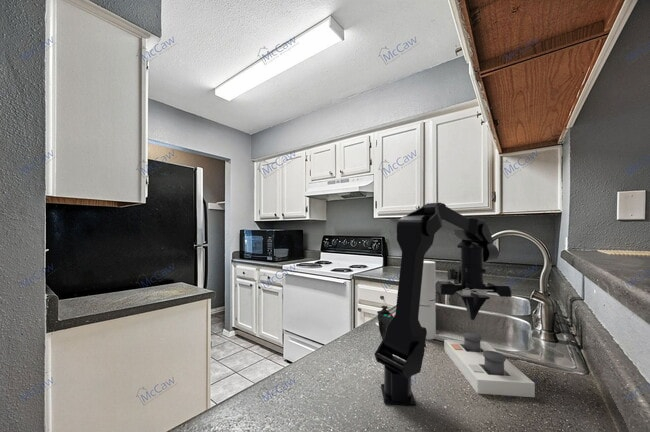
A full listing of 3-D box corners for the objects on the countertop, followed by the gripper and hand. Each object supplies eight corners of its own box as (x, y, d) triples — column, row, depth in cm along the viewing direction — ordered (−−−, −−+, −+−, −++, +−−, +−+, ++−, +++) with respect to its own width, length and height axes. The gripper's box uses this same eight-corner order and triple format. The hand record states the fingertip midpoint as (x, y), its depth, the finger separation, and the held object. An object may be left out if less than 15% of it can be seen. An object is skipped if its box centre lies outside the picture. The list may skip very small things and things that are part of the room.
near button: (509, 380, 64) (509, 360, 64) (488, 378, 64) (488, 358, 65) (499, 369, 69) (499, 351, 69) (479, 368, 69) (479, 350, 69)
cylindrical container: (440, 337, 93) (440, 262, 94) (423, 340, 91) (423, 263, 91) (425, 330, 100) (425, 260, 101) (408, 332, 97) (409, 260, 98)
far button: (484, 355, 76) (484, 339, 76) (467, 354, 76) (467, 338, 77) (477, 348, 81) (476, 332, 81) (460, 347, 81) (460, 332, 81)
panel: (534, 397, 61) (534, 382, 61) (477, 393, 62) (477, 378, 62) (485, 352, 83) (485, 341, 83) (444, 349, 84) (444, 339, 84)
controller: (387, 333, 97) (387, 303, 97) (402, 348, 85) (402, 315, 85) (375, 333, 96) (375, 304, 97) (388, 349, 84) (388, 315, 84)
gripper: (491, 261, 87) (492, 312, 86) (430, 259, 88) (429, 309, 88) (512, 266, 76) (513, 324, 75) (441, 264, 77) (441, 321, 77)
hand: (472, 319), depth 79 cm, fingers closed
